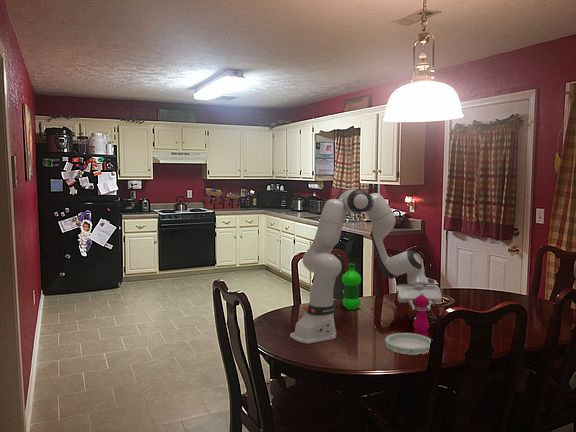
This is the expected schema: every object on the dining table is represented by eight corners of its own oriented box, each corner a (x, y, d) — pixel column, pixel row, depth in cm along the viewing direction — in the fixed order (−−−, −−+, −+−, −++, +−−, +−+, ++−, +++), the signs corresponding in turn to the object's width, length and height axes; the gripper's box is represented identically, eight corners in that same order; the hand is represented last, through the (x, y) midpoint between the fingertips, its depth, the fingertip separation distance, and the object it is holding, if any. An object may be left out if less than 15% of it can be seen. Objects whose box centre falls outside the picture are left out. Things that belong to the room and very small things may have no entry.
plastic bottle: (349, 305, 276) (349, 261, 274) (364, 308, 269) (364, 264, 267) (338, 308, 269) (338, 264, 267) (353, 312, 262) (353, 266, 259)
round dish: (412, 358, 197) (412, 352, 197) (375, 344, 213) (375, 339, 213) (442, 347, 209) (442, 342, 209) (405, 335, 225) (405, 330, 225)
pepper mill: (420, 338, 220) (421, 295, 219) (409, 333, 227) (410, 291, 225) (432, 335, 224) (433, 293, 222) (421, 331, 230) (422, 290, 228)
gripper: (396, 280, 231) (399, 306, 222) (439, 280, 230) (445, 306, 221) (394, 287, 236) (397, 313, 227) (437, 287, 235) (442, 313, 226)
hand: (421, 309), depth 224 cm, fingers closed on pepper mill, 5 cm apart
